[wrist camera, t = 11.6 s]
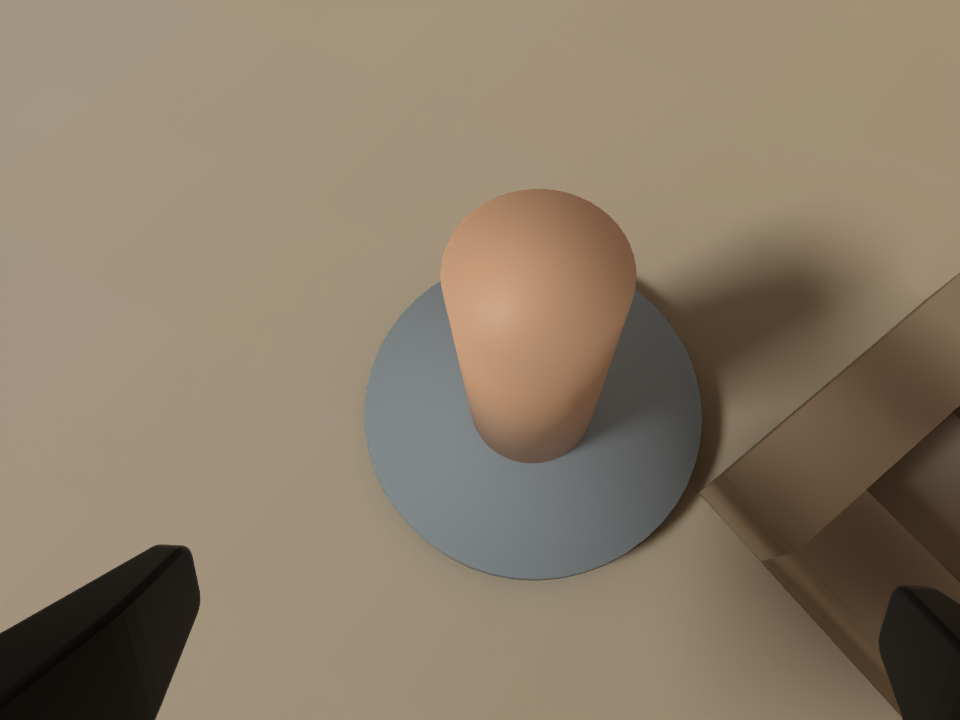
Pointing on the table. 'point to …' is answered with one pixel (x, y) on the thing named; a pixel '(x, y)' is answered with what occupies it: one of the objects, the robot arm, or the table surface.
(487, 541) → the slate mat
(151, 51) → the table surface
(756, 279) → the table surface
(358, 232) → the table surface
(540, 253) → the post
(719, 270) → the table surface
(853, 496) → the pocket block
